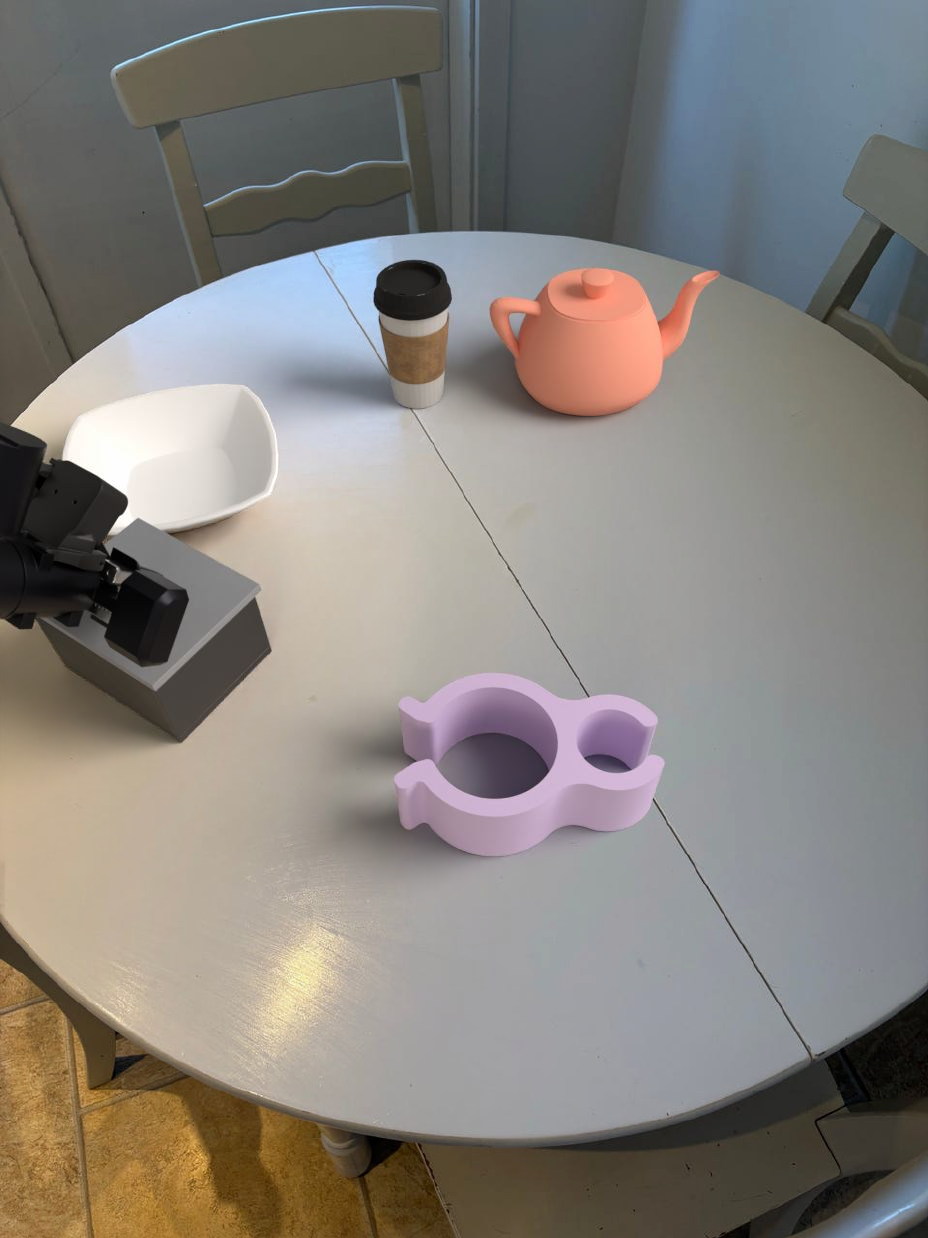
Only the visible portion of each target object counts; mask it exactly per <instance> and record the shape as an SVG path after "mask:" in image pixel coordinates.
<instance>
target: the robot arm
mask: <svg viewBox="0 0 928 1238" xmlns="http://www.w3.org/2000/svg"><path fill="white" fill-rule="evenodd" d="M47 449H48V443H47V442H46V441H44V440H43V439H42V438H40V437H38V436H36V435H34V434H32V433H30V432H28V431H25V430H22V429H20V428H17V427H15V426H13V425H9V424H8V423H7V424H6V423H4V422H1V421H0V620H4V621H5V622H7V623H9V624H10V625H12V626H13V627H15V628H16V629H18V630H19V631H23V630H33V627H34V624H35V621H36V619H35V618H46V617H52V618H54V619H55V620H57V621H59V622H60V623H62V624H63V625H65V626H67V627H79V624H80V621H81V618H82V615H83V612H84V611H85V610H86V611H88V612H90V613H91V616H90V618H91V619H93V620H94V621H96V622H97V623H99V624H101V625H102V626H104V627H105V628H107V629H106V632H105V635H104V638H105V640H106V642H107V643H108V645H109V647H110V648H112V649H113V650H115V651H116V652H118V653H120V654H121V655H123V656H124V657H126V658H128V659H129V660H131V661H132V662H134V663H136V664H137V665H139V666H140V667H149V666H158V665H162V664H164V663H166V662H168V659H169V656H170V653H171V651H172V648H173V645H174V642H175V639H176V636H177V633H178V631H179V628H180V625H181V622H182V619H183V616H184V613H185V611H186V608H187V605H188V602H189V597H188V594H187V591H186V589H184V588H183V587H181V586H179V585H177V584H176V583H174V582H172V581H170V580H169V579H167V578H165V577H163V575H162V574H160V573H158V572H156V571H154V570H151V569H148V568H145V567H142V566H140V565H139V563H138V562H137V560H135V559H134V558H132V557H130V556H129V555H127V554H125V553H123V552H122V551H120V550H118V549H116V548H115V547H113V549H112V552H111V555H109V553H108V551H107V550H106V548H105V546H104V545H105V543H103V542H104V541H105V539H106V538H107V537H108V536H107V535H108V533H109V532H110V530H111V528H112V527H113V525H114V524H115V522H116V521H117V519H118V518H119V516H121V515H123V513H124V512H125V510H126V508H127V506H128V498H127V496H126V495H125V494H124V493H122V492H121V491H119V490H118V489H116V488H115V487H113V486H112V485H110V484H109V483H107V482H106V481H104V480H103V479H101V478H100V477H98V476H97V475H95V474H93V473H91V472H89V471H88V470H86V469H84V468H82V467H80V466H78V465H76V464H75V463H73V462H71V461H68V460H64V461H63V460H62V458H59V459H58V458H57V459H55V458H53V457H51V458H50V460H49V461H48V464H47V463H46V462H44V458H45V456H46V452H47Z"/></svg>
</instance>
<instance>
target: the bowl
mask: <svg viewBox="0 0 928 1238" xmlns="http://www.w3.org/2000/svg"><path fill="white" fill-rule="evenodd" d="M273 425H274V424H273V423H272V420H271V417H270V415H269V412H268V411H267V409H266V407H265V405H264V403H263V402H262V399H260V398H259V396H257V395H256V393H254V392H253V391H252V390H251V389H250V388H249V387H247V386H246V385H244V384H231V383H230V384H229V383H212V384H211V383H210V384H198V385H197V384H196V385H187V386H179V387H173V388H172V387H171V388H165V389H164V388H163V389H158V390H154V391H150V392H145V393H141V394H135V395H132V396H129V397H125V398H121V399H118V400H114V401H111V402H107V403H104V404H101V405H99V406H96V407H95V408H92V409H90V410H88V411H85V412H83V413H81V414H79V415H78V416H77V417H76V419H75V420H74V422H73V424H72V426H71V427H70V429H69V431H68V433H67V434H66V438H65V441H64V445H63V448H62V453H61V460H63V461H64V460H68V461H71V462H73V463H75V464H76V465H78V466H80V467H82V468H84V469H86V470H88V471H89V472H91V473H93V474H95V475H97V476H98V477H100V478H101V479H103V480H104V481H106V482H107V483H109V484H110V485H112V486H113V487H115V488H116V489H118V490H119V491H121V492H122V493H124V494H125V495H126V496H127V498H128V506H127V508H126V510H125V512H124V513H123V515H121V516H119V518H118V519H117V521H116V522H115V524H114V525H113V527H112V528H111V530H110V532H109V533H108V535H107V536H106V537H115V536H116V535H117V534H118V533H120V532H121V531H122V530H123V529H125V528H126V527H127V526H128V525H129V524H131V523H132V522H133V521H134V520H136V519H137V518H140V519H142V520H143V521H145V522H147V523H149V524H151V525H152V526H154V527H156V528H158V529H160V530H162V531H163V532H165V533H167V534H175V533H181V532H188V531H192V530H197V529H199V528H203V527H206V526H209V525H212V524H215V523H218V522H221V521H224V520H227V519H228V518H231V517H233V516H235V515H237V514H239V513H241V512H243V511H244V510H247V509H249V508H250V507H252V506H254V505H256V504H258V503H260V502H262V501H263V500H265V499H267V498H269V497H270V496H271V495H272V493H273V490H274V487H275V484H276V481H277V478H278V476H279V459H280V455H279V448H278V447H279V446H278V439H277V433H276V431H275V427H274V426H273Z"/></svg>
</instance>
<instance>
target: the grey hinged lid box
mask: <svg viewBox="0 0 928 1238" xmlns="http://www.w3.org/2000/svg"><path fill="white" fill-rule="evenodd" d="M35 621H36V623H37V624H38V626H39V627H40V629H41V630H42V632H43V634H44V636H45V637H46V639H47V640H48V641H49V644H50V645H51V646H52V648H53V650H54V651H55V653H56V654H57V656H58V658H59V659H60V661H61V663H62V664H63V666H64V667H65V668H67V669H68V670H70V671H71V672H73V674H76V675H77V676H79V677H81V679H83V680H85V681H86V682H88V683H90V684H91V685H93V686H94V687H95V688H97V689H99V690H100V691H102V692H103V693H104V694H106V695H108V696H109V697H110V698H112V699H114V700H115V701H116V702H118V703H119V704H121V705H122V706H124V707H126V708H127V709H129V710H131V711H132V712H134V713H135V714H137V715H138V716H139V717H141V718H143V719H144V720H146V721H148V723H150V724H152V725H153V726H154V727H156V728H158V729H159V730H160V731H162V732H164V733H165V734H167V735H168V736H169V737H171V738H173V739H174V740H176V741H178V742H179V743H180V744H182V743H183V742H185V740H186V739H187V738H188V737H189V736H190V735H191V734H192V733H193V732H194V731H195V730H196V729H197V728H198V727H199V726H201V724H202V723H203V722H204V721H205V720H206V719H207V718H208V717H209V716H210V715H211V713H213V712H214V711H215V709H217V708H218V706H220V705H221V703H223V701H224V700H225V699H226V698H227V697H228V696H230V694H231V693H232V692H233V691H234V690H235V689H236V688H237V687H238V686H239V685H240V684H241V683H242V682H243V681H244V680H245V679H246V678H247V677H248V676H249V675H250V674H251V673H252V672H253V671H254V670H255V669H256V668H257V667H258V666H259V665H260V663H262V661H264V660H265V658H267V656H269V655H270V653H271V652H272V647H271V644H270V640H269V637H268V634H267V630H266V627H265V624H264V621H263V617H262V614H261V609H260V607H259V604H258V601H257V598H256V596H255V597H254V598H253V599H252V600H251V601H250V602H249V603H248V604H247V605H246V606H245V607H243V608H242V609H241V610H240V611H239V612H238V613H237V614H236V615H235V616H234V617H233V618H232V619H231V620H230V621H229V622H228V623H227V624H226V625H225V626H224V627H223V628H221V629H220V630H219V631H218V632H217V633H216V634H215V635H214V636H213V637H212V638H211V639H210V640H209V641H208V642H207V643H206V644H205V645H204V646H203V647H202V648H200V649H199V650H198V651H197V652H196V653H195V654H194V655H193V656H192V657H191V658H190V659H189V660H188V661H187V662H186V663H185V664H184V665H183V666H182V667H181V668H180V669H178V670H177V671H176V672H175V673H174V674H173V675H172V676H171V677H170V678H169V679H168V680H167V681H166V682H165V683H164V684H163V685H162V686H161V687H160V688H159V689H157V690H156V691H153V690H152V689H150V688H149V687H147V686H146V685H144V684H142V683H141V682H139V681H138V680H136V679H135V678H133V677H132V676H130V675H128V674H127V673H125V672H124V671H122V670H121V669H119V668H117V667H116V666H114V665H113V664H111V663H110V662H108V661H107V660H105V659H103V658H102V657H100V656H99V655H97V654H96V653H94V652H92V651H91V650H89V649H88V648H86V647H85V646H83V645H82V644H80V643H78V642H77V641H75V640H74V639H72V638H71V637H69V636H67V635H66V634H64V633H63V632H61V631H60V630H58V629H57V628H55V627H53V626H52V625H50V624H49V623H47V622H46V621H44V620H42V619H41V618H35Z"/></svg>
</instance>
